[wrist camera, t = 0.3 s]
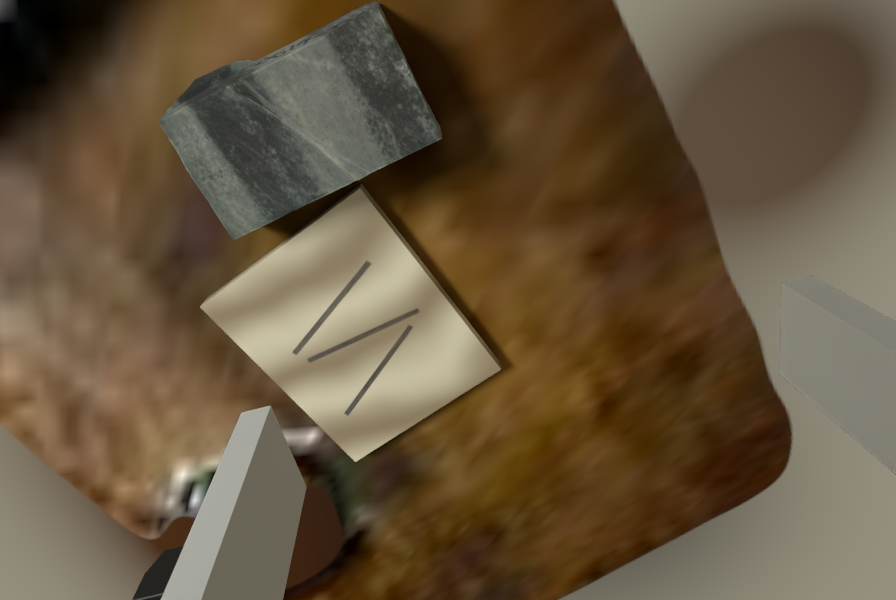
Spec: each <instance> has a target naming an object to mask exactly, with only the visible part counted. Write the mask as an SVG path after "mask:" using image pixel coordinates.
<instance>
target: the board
mask: <svg viewBox="0 0 896 600" xmlns="http://www.w3.org/2000/svg"><path fill="white" fill-rule="evenodd" d="M200 308H201V309H202V310H203V311H204V312H205V313H206V314H207V315H208V316H209V317H210V318H211V319H212V320H213V321H214V322H215V323H216V324H217V325H218V326H219V327H220V328H221V329H222V330H223V331H224V332H225V333H226V334H227V335H228V336H229V337H230V338H231V339H232V340H233V341H234V342H235V343H236V344H237V345H238V346H239V347H240V348H241V349H242V350H243V351H244V352H245V353H247V354H248V355H249V356H250V357H251V358H252V359H253V360H254V361H255V362H256V363H257V364H258V365H259V366H260V367H261V368H262V369H263V370H264V371H265V372H266V373H267V374H268V375H269V376H270V377H271V378H272V379H273V380H274V381H275V382H276V383H277V384H278V385H279V386H280V387H281V388H282V389H283V390H284V391H285V392H286V393H287V394H288V395H289V396H290V397H291V398H292V399H293V400H294V401H295V402H296V403H297V404H298V405H299V406H300V407H301V408H302V409H303V410H304V411H305V412H306V413H307V414H308V415H309V416H310V417H311V418H312V419H313V420H314V421H315V422H316V423H317V424H318V425H319V426H320V427H321V428H322V429H323V430H324V431H325V432H326V433H327V434H328V435H329V436H330V437H331V438H332V439H333V440H334V441H335V442H336V443H337V444H338V445H339V446H340V447H341V448H342V449H343V450H344V451H345V452H346V453H347V454H348V455H349V456H350V457H351V458H352V459H353V460H354V461H355V462H356V461H358V460H359V459H361V458H363V457H364V456H366V455H367V454H369V453H370V452H372V451H374V450H375V449H377V448H378V447H380V446H381V445H383V444H385V443H386V442H388V441H389V440H391V439H392V438H394V437H396V436H397V435H399V434H400V433H402V432H403V431H405V430H407V429H408V428H410V427H411V426H413V425H415V424H416V423H418V422H419V421H421V420H422V419H424V418H426V417H427V416H429V415H430V414H432V413H433V412H435V411H437V410H438V409H440V408H441V407H443V406H444V405H446V404H448V403H449V402H451V401H452V400H454V399H455V398H457V397H459V396H460V395H462V394H463V393H465V392H466V391H468V390H470V389H471V388H473V387H474V386H476V385H478V384H479V383H481V382H482V381H484V380H485V379H487V378H489V377H490V376H492V375H493V374H495V373H496V372H498V371H500V370H501V367H500V364H499V361H498V359H497V357H496V356H495V355H494V354H493V352H492V351H491V350H490V348H489V347H488V346H487V345H486V343H485V342H484V341H483V339H482V338H481V337H480V336H479V334H478V333H477V332H476V330H475V329H474V328H473V327H472V325H471V324H470V323H469V321H468V320H467V319H466V318H465V316H464V315H463V314H462V312H461V311H460V310H459V308H458V307H457V306H456V305H455V303H454V302H453V301H452V299H451V298H450V297H449V296H448V294H447V293H446V292H445V290H444V289H443V288H442V287H441V285H440V284H439V283H438V281H437V280H436V279H435V278H434V276H433V275H432V274H431V272H430V271H429V270H428V269H427V267H426V266H425V265H424V263H423V262H422V261H421V260H420V258H419V257H418V256H417V254H416V253H415V252H414V250H413V249H412V248H411V247H410V245H409V244H408V243H407V241H406V240H405V239H404V238H403V236H402V235H401V234H400V232H399V231H398V230H397V229H396V227H395V226H394V225H393V223H392V222H391V221H390V220H389V218H388V217H387V216H386V214H385V213H384V212H383V211H382V209H381V208H380V207H379V205H378V204H377V203H376V201H375V200H374V199H373V198H372V196H371V195H370V194H369V192H368V191H367V190H366V189H365V187H364V186H363V185H362V183H361V184H360V185H359V186H357V187H356V188H355V189H353V190H352V191H351V192H349V193H348V194H347V195H345V196H344V197H343V198H341V199H340V200H339V201H337V202H336V203H335V204H333V205H332V206H330V207H329V208H328V209H326V210H325V211H324V212H322V213H321V214H320V215H318V216H317V217H316V218H314V219H313V220H312V221H310V222H309V223H308V224H306V225H305V226H303V227H302V228H301V229H299V230H298V231H297V232H295V233H294V234H293V235H291V236H290V237H289V238H287V239H286V240H285V241H283V242H282V243H281V244H279V245H278V246H277V247H275V248H274V249H272V250H271V251H270V252H268V253H267V254H266V255H264V256H263V257H262V258H260V259H259V260H258V261H256V262H255V263H254V264H252V265H251V266H250V267H248V268H247V269H245V270H244V271H243V272H241V273H240V274H239V275H237V276H236V277H235V278H233V279H232V280H231V281H229V282H228V283H227V284H225V285H224V286H223V287H221V288H220V289H219V290H217V291H216V292H214V293H213V294H212V295H210V296H209V297H208V298H206V300H205V301H204V302H203V303H202V305H201V306H200Z"/></svg>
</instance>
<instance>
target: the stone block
mask: <svg viewBox="0 0 896 600" xmlns="http://www.w3.org/2000/svg"><path fill="white" fill-rule="evenodd" d="M158 122H159V124H160V125H161V127H162V129H163V130H164V132H165V133H166V135H167V136H168V138H169V140H170V142H171V143H172V145H173V146H174V148H175V149H176V151H177V152H178V154H179V156H180V158H181V160H182V162H183V164H184V166H185V168H186V169H187V171H188V172H189V174H190V176H191V177H192V179H193V180H194V182H195V183H196V185H197V186H198V188H199V189H200V190H201V192H202V193H203V195H204V196H205V198H206V199H207V200H208V202H209V203H210V205H211V207H212V209H213V210H214V212H215V213H216V215H217V216H218V218H219V219H220V221H221V222H222V224H223V226H224V227H225V228H226V230H227V231H228V233H229V234H230V236H231V237H232V239H237V238H239V237H241V236H243V235H246V234H248V233H250V232H252V231H254V230H256V229H258V228H260V227H262V226H264V225H266V224H268V223H270V222H272V221H274V220H277V219H279V218H281V217H283V216H284V215H286V214H288V213H290V212H293V211H295V210H297V209H299V208H301V207H303V206H305V205H307V204H309V203H311V202H313V201H315V200H318V199H320V198H322V197H324V196H326V195H328V194H330V193H332V192H334V191H336V190H338V189H340V188H342V187H345V186H347V185H349V184H351V183H353V182H355V181H357V180H360V179H362V178H364V177H365V176H367V175H368V174H370V173H372V172H374V171H376V170H379V169H381V168H383V167H385V166H387V165H389V164H391V163H393V162H395V161H397V160H399V159H401V158H403V157H405V156H407V155H409V154H411V153H413V152H416V151H418V150H420V149H422V148H424V147H426V146H428V145H430V144H432V143H434V142H436V141H438V140H440V139H442V134H441V130H440V126H439V123H438V122H437V120H436V118H435V116H434V114H433V112H432V110H431V108H430V107H429V105H428V103H427V101H426V99H425V97H424V95H423V93H422V91H421V89H420V87H419V85H418V83H417V81H416V79H415V77H414V75H413V73H412V71H411V69H410V67H409V65H408V63H407V61H406V58H405V56H404V54H403V52H402V50H401V48H400V46H399V45H398V43H397V41H396V39H395V37H394V34H393V31H392V30H391V28H390V26H389V24H388V22H387V20H386V18H385V14H384V12H383V11H382V8H381V7H380V5H379V3H378V2H377V1H376V2H370V3H368V4H365V5H363V6H361V7H359V8H356V9H354V10H353V11H351V12H349V13H347V14H345V15H343V16H342V17H340V18H338V19H336V20H334V21H332V22H330V23H328V24H327V25H325V26H323V27H321V28H319V29H317V30H315V31H313V32H312V33H310V34H308V35H306V36H304V37H302V38H300V39H298V40H296V41H295V42H293V43H291V44H289V45H287V46H285V47H283V48H281V49H278V50H276V51H274V52H273V53H271V54H269V55H267V56H265V57H263V58H260V59H258V60H256V61H250V60H244V61H235V62H233V63H230V64H228V65H226V66H224V67H221V68H219V69H217V70H215V71H213V72H211V73H209V74H206V75H204V76H202V77H200V78H198V79H195V80H194V81H193V83H192V84H191V85H190V86H189V87H188V89H187V90H186V91H185V92H184V93H183V94H182V95H181V96H180V97H179V98H178V99H177V100H176V101H175V103H174V104H173V105H172V106H171V107H170V108H169V109H168V110H167V111H166V112H165V113H164V116H163V117H162V118H161V119H160V120H159V121H158Z"/></svg>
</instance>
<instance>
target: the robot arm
mask: <svg viewBox="0 0 896 600" xmlns="http://www.w3.org/2000/svg"><path fill="white" fill-rule="evenodd" d="M779 375H780V376H781V377H783V378H784V379H785V380H786V381H787V382H788V383H790V384H791V385H792V386H793V387H794V388H795V389H797V390H798V391H799V392H800V393H801V394H802V395H804V396H805V397H806V398H807V399H808V400H809V401H811V402H812V403H813V404H814V405H815V406H816V407H818V408H819V409H820V410H821V411H822V412H824V413H825V414H826V415H827V416H828V417H829V418H830V419H832V420H833V421H834V422H835V423H836V424H837V425H839V426H840V427H841V428H842V429H843V430H844V431H846V432H847V433H848V434H849V435H850V436H852V437H853V438H854V439H855V440H856V441H857V442H859V443H860V444H861V445H862V446H863V447H865V449H867V450H868V451H869V452H870V453H871V454H873V455H874V456H875V457H876V458H877V459H878V460H879V461H881V462H882V463H883V464H884V465H885V466H886V467H888V468H889V469H890V470H891V471H892V472H894V473H895V474H896V321H894V320H892V319H890V318H889V317H887V316H885V315H883V314H881V313H879V312H878V311H876V310H874V309H872V308H870V307H869V306H866V305H865V304H863V303H861V302H860V301H858V300H856V299H854V298H852V297H850V296H849V295H847V294H845V293H843V292H841V291H839V290H838V289H836V288H834V287H832V286H830V285H829V284H826V283H825V282H823V281H821V280H819V279H818V278H816V277H814V276H812V275H811V276H808V277H803V278H799V279H795V280H791V281H787V282H783V283H782V286H781V329H780V374H779ZM305 490H306V485H305V483H304V481H303V478H302V476H301V474H300V471H299V469H298V467H297V465H296V462H295V460H294V458H293V455H292V453H291V451H290V449H289V446H288V444H287V442H286V439H285V437H284V435H283V433H282V430H281V428H280V426H279V423H278V421H277V419H276V417H275V414H274V412H273V410H272V407H271V406H267V407H263V408H259V409H255V410H250V411H246V412H242V413H241V415H240V417H239V420H238V422H237V424H236V427H235V429H234V431H233V433H232V436H231V438H230V440H229V443H228V445H227V447H226V450H225V452H224V454H223V457H222V459H221V461H220V464H219V466H218V468H217V471H216V473H215V475H214V477H213V480H212V482H211V484H210V487H209V489H208V491H207V494H206V496H205V498H204V501H203V503H202V505H201V508H200V510H199V512H198V515H197V517H196V519H195V522H194V524H193V526H192V528H191V531H190V533H189V535H188V538H187V540H186V542H185V545H184V546H182V547H177V548H174V549H169V550H165V551H164V552H163V553H162V554H161V555H160V557H159V558H158V559H157V560H156V561H155V562H154V564H153V565H152V566H151V567H150V568H149V570H148V571H147V572H146V573H145V575H144V577H143V579H142V581H141V583H140V585H139V587H138V589H137V591H136V593H135V595H134V597H133V600H283V595H284V591H285V586H286V581H287V576H288V572H289V567H290V562H291V557H292V553H293V548H294V543H295V539H296V534H297V529H298V524H299V519H300V515H301V510H302V505H303V500H304V496H305Z"/></svg>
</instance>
